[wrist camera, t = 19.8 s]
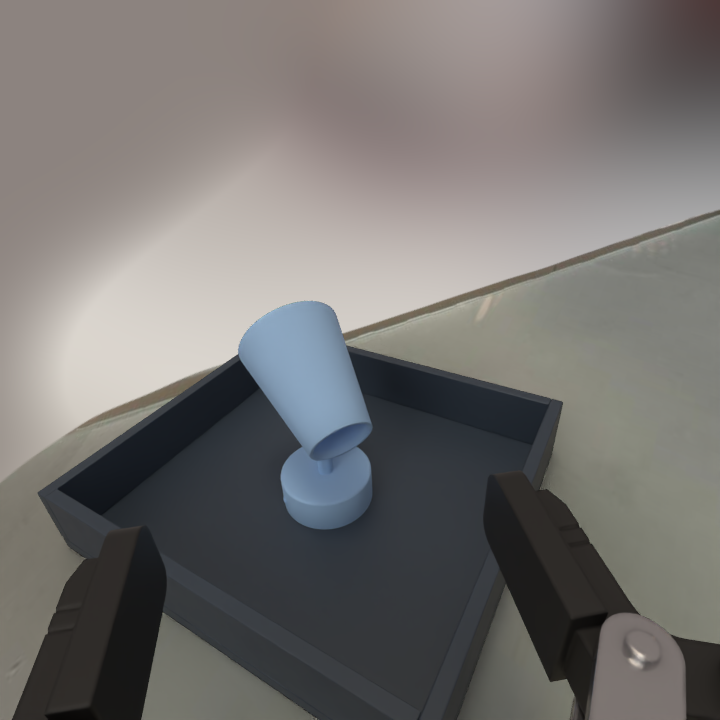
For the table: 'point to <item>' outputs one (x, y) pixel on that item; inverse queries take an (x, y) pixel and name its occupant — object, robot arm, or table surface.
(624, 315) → the table surface
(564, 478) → the table surface
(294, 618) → the tray
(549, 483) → the table surface
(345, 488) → the spotlight
